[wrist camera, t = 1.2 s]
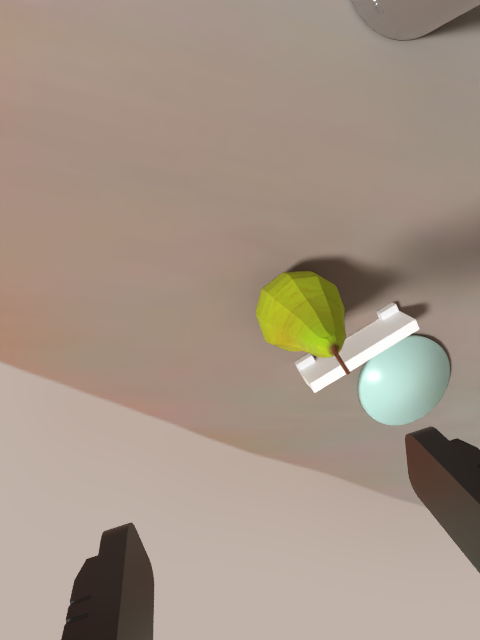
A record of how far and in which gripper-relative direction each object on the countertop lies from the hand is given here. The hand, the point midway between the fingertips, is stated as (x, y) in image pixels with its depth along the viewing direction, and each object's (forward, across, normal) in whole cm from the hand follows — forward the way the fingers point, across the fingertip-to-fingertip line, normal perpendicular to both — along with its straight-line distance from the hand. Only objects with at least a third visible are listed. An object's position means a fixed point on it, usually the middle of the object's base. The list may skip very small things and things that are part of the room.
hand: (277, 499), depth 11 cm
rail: (+22, -11, +8) cm, 26 cm away
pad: (+22, -16, +13) cm, 30 cm away
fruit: (+22, -6, +2) cm, 23 cm away
